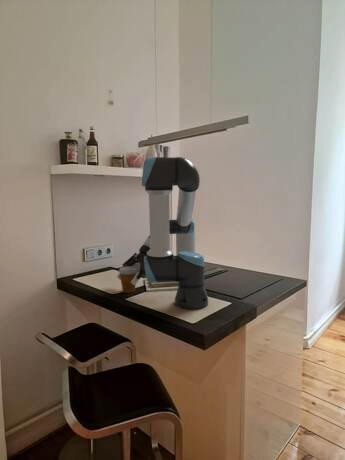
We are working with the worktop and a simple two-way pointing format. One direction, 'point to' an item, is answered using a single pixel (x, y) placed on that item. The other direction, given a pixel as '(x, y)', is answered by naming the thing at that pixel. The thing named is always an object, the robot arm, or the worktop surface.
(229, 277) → the worktop surface
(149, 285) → the docking board
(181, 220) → the robot arm
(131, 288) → the disposable coffee cup
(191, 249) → the cylinder vase
